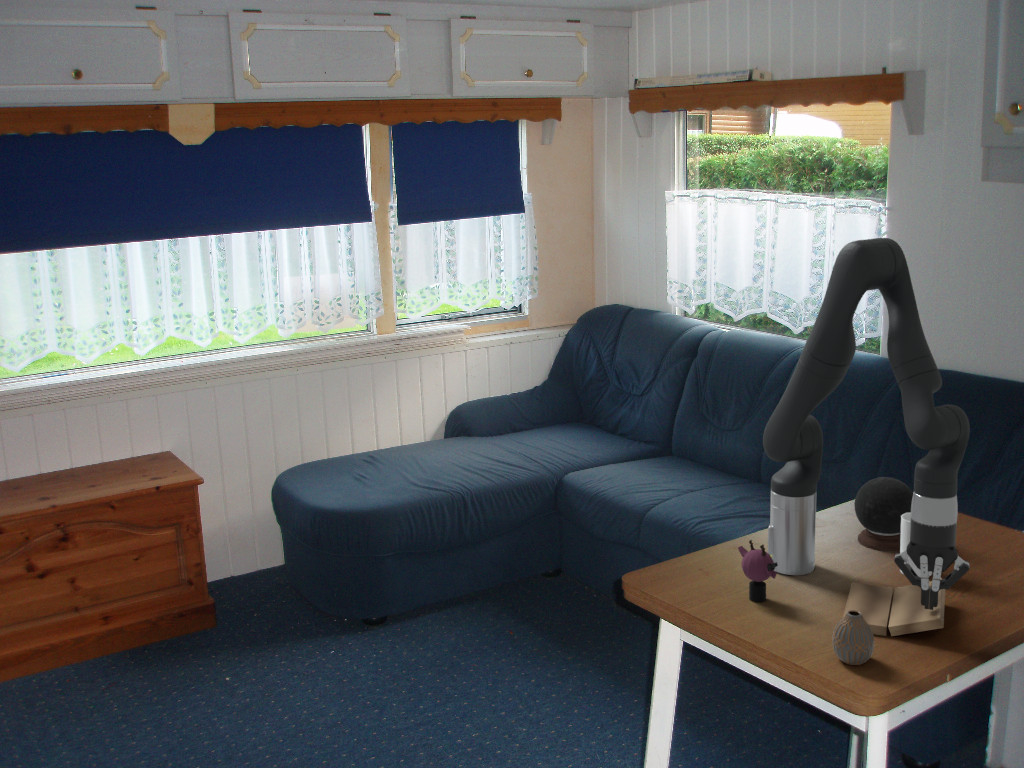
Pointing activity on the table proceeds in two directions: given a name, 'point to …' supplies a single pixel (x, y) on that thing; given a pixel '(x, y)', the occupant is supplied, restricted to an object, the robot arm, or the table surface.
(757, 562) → the figurine
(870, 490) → the black sphere on base
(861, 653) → the vase
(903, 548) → the mug
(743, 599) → the table surface
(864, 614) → the fixed plank
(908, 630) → the board
